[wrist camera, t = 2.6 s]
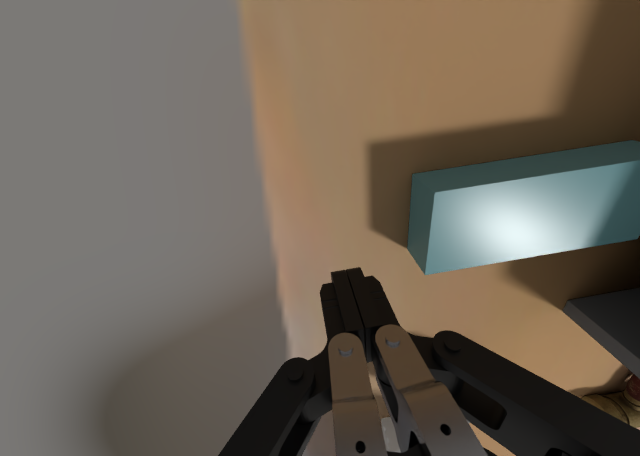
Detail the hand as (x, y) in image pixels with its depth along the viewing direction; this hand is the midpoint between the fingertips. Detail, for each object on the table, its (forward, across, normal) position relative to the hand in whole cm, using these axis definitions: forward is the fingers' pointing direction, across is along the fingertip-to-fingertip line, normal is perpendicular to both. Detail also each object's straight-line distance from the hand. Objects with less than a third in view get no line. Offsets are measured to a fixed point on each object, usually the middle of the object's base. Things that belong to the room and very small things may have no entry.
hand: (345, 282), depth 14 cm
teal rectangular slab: (+6, -13, 0) cm, 14 cm away
